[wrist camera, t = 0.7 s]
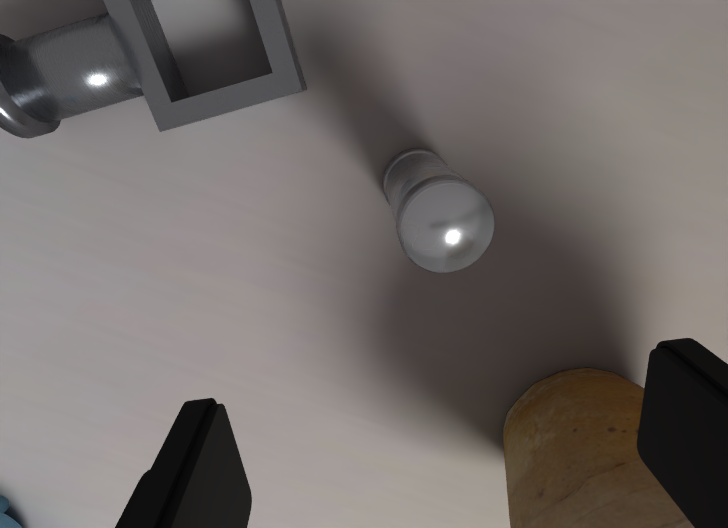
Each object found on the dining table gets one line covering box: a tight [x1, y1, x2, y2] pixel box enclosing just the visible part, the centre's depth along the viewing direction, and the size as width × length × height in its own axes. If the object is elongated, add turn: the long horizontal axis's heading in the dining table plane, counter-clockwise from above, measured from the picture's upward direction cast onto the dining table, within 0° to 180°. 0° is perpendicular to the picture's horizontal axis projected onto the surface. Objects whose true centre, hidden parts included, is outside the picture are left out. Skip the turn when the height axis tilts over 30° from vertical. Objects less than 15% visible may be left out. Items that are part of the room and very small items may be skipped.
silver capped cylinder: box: [383, 148, 495, 273], centre depth 24 cm, size 4×4×10 cm
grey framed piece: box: [0, 0, 307, 138], centre depth 23 cm, size 15×8×5 cm, turn 105°
